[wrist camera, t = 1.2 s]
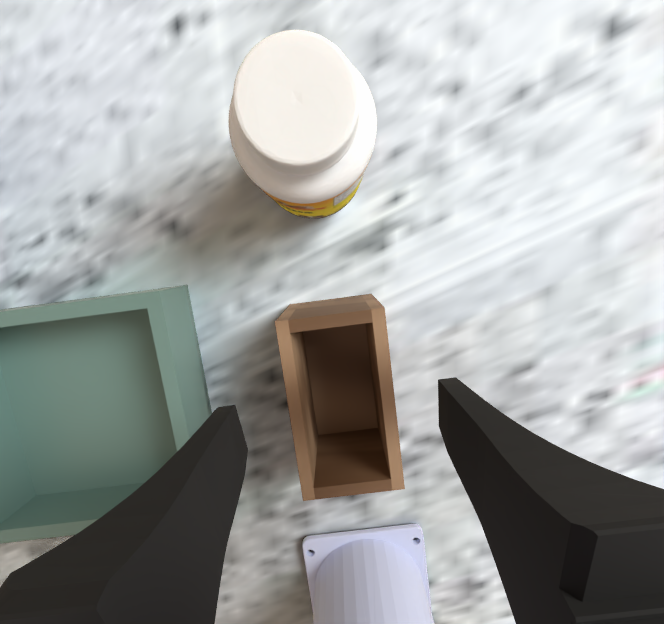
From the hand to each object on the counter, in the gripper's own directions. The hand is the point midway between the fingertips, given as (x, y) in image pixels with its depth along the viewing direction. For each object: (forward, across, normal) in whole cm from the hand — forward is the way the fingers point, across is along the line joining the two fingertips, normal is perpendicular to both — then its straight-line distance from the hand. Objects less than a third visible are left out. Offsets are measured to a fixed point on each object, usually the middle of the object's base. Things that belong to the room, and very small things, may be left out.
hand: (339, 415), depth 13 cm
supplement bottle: (+13, 0, -8) cm, 15 cm away
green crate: (+10, +15, +4) cm, 18 cm away
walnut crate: (+9, 0, +4) cm, 10 cm away
